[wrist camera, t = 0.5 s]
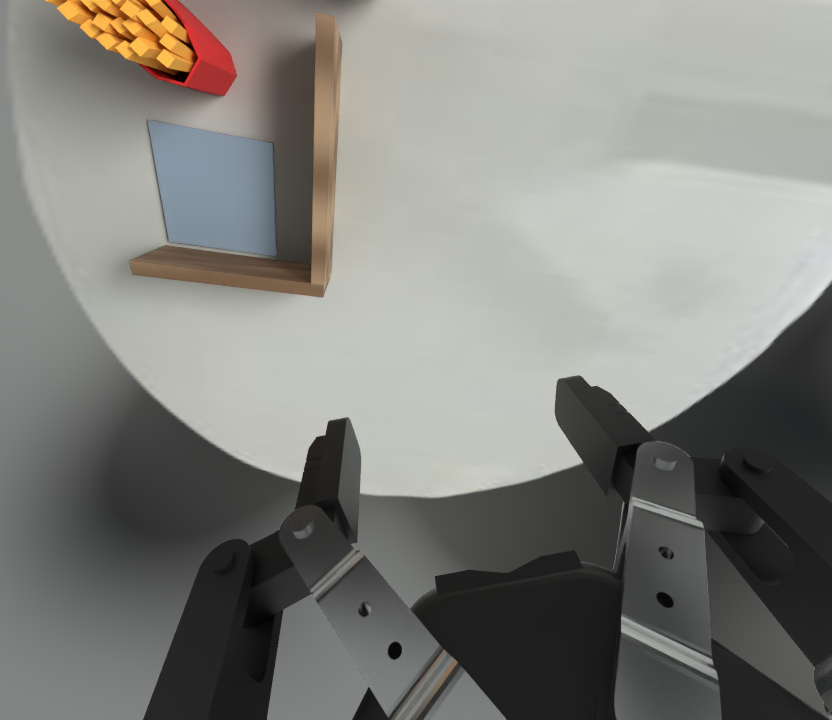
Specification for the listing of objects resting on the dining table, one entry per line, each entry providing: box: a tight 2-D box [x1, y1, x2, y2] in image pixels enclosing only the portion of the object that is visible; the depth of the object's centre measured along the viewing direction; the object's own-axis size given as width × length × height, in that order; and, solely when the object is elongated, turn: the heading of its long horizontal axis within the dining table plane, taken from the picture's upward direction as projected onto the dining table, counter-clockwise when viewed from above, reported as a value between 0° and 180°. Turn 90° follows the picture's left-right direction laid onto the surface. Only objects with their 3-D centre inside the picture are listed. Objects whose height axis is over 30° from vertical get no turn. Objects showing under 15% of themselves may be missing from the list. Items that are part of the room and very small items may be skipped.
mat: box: [148, 120, 277, 256], centre depth 32 cm, size 10×10×1 cm
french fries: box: [46, 0, 237, 96], centre depth 22 cm, size 8×4×12 cm, turn 45°
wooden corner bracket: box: [129, 12, 342, 297], centre depth 29 cm, size 20×16×6 cm
